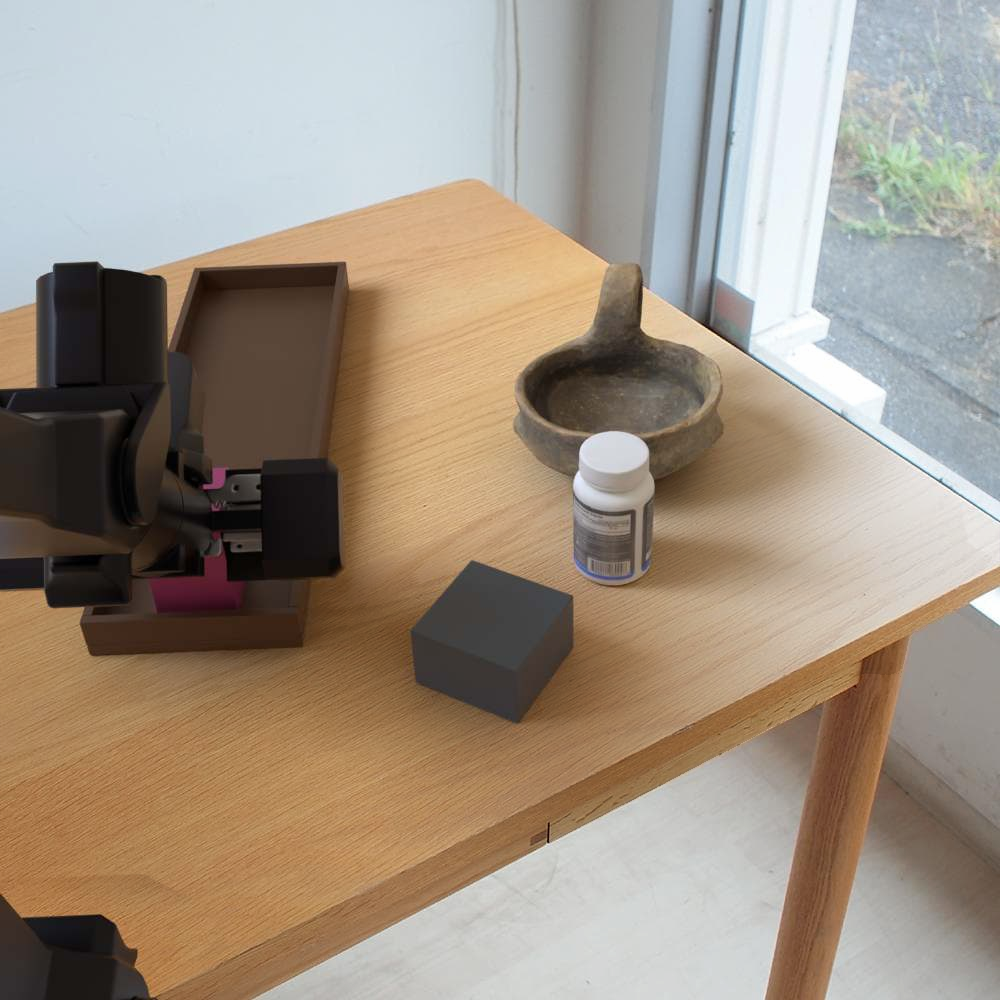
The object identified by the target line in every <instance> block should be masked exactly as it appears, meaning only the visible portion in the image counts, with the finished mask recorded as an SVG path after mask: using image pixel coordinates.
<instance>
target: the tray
mask: <svg viewBox="0 0 1000 1000" xmlns="http://www.w3.org/2000/svg"><path fill="white" fill-rule="evenodd" d="M347 267H348V266H347V262H346V261H327V262H326V261H325V262H324V261H323V262H303V263H302V262H301V263H280V264H279V263H278V264H277V263H276V264H256V265H255V264H254V265H252V264H251V265H231V266H229V265H228V266H208V267H207V266H206V267H194V268H193V271H192V275H191V277H190V281H189V284H188V286H187V290H186V293H185V295H184V298H183V299H184V300H183V301H182V305H181V308H180V311H179V314H178V317H177V321H176V324H175V327H174V330H173V333H172V335H171V339H170V343H169V344H168V352H180V353H183V354H185V355H187V356H188V357H189V358H190V359H191V361H192V364H193V366H194V368H195V371H196V373H197V375H198V378H199V380H200V383H201V385H202V387H203V390H204V392H205V395H206V402H205V406H204V416H203V429H202V435H203V436H204V455H205V456H207V457H208V458H210V459H211V460H212V464H213V468H229V470H232V469H257V468H262V464H263V460H283V459H308V458H328V454H329V447H330V440H331V433H332V425H333V416H334V409H335V402H336V401H335V400H336V393H337V386H338V379H339V378H338V377H339V371H340V362H341V354H342V347H343V339H344V332H345V326H346V325H345V324H346V318H347V317H346V316H347V309H348V303H349V293H350V286H349V277H348V268H347ZM311 585H312V579H310V580H260V581H246V583H245V588H244V593H243V599H242V604H241V609H238V610H214V611H190V612H165V613H157V610H156V606H155V602H154V599H153V595H152V591H151V587H150V584H149V580H148V579H134V580H132V601H131V603H130V604H129V605H124V606H100V607H83V610H82V613H81V617H80V620H79V626H80V629H81V633H82V635H83V639H84V642H85V645H86V648H87V651H88V654H89V655H90V656H101V655H102V656H105V655H124V654H125V655H128V654H129V655H130V654H131V655H132V654H153V653H174V652H175V653H177V652H198V651H199V652H202V651H224V650H225V651H226V650H249V649H250V650H251V649H273V648H274V649H275V648H297V647H298V648H301V647H303V645H304V640H305V639H304V638H305V632H306V631H305V630H306V625H307V624H306V623H307V617H308V616H307V615H308V609H309V608H308V607H309V602H310V601H309V600H310V595H311V594H310V593H311Z"/></svg>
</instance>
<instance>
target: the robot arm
mask: <svg viewBox="0 0 1000 1000" xmlns="http://www.w3.org/2000/svg"><path fill="white" fill-rule="evenodd" d="M35 287H36V288H35V312H36V313H35V328H36V329H35V387H15V388H13V387H12V388H0V593H7V592H10V593H11V592H30V591H32V592H33V591H35V592H36V591H43V592H44V596H45V600H46V604H47V606H48V607H49V608H50V609H73V608H75V609H76V608H84V607H100V606H124V605H129V604H130V603H131V601H132V580H134V579H159V578H184V577H205V569H204V557H211V556H220V555H221V554H222V552H223V541H224V542H226V567H227V582H235V581H260V580H310V579H311V580H331V579H336V578H337V577H338V576H339V575H340V574H341V573H342V572H343V570H345V569H346V548H345V547H346V544H345V543H346V542H345V506H344V473H343V471H342V470H341V469H340V468H339V467H338V466H337V465H336V464H335V463H334V462H333V461H331V459H329V458H328V457H327V458H308V459H283V460H263V464H262V468H257V469H232V470H225V482H224V484H223V486H222V487H221V488H218V489H203V485H209V484H212V483H213V464H212V460H211V459H210V458H208V457H207V456H205V455H204V436H203V435H202V429H203V416H204V406H205V402H206V395H205V392H204V390H203V387H202V385H201V383H200V380H199V378H198V375H197V373H196V371H195V368H194V366H193V364H192V361H191V359H190V358H189V357H188V356H187V355H185V354H183V353H180V352H168V348H169V343H168V342H169V341H168V340H169V339H168V337H169V335H168V329H169V328H168V327H169V325H168V283H167V280H166V279H165V277H163V276H162V275H159V274H146V273H143V272H140V271H134V270H128V269H121V268H111V267H104V266H103V265H102V264H101V263H100V262H99V261H74V262H73V261H72V262H71V261H69V262H55V263H53V265H52V271H50V272H47V273H45V274H43V275H40V276H39V277H38V278H37V279H36V280H35ZM212 503H213V505H214V507H215V508H218V507H219V504H220V503H221V506H222V511H213V510H212V506H211V505H212ZM220 532H223V541H222V539H221V537H220V536H217V539H216V542H215V541H214V538H213V537H212V534H213V533H220ZM123 939H124V938H122V935H121V933H120V930H119V928H118V926H117V924H116V923H115V922H113V921H112V920H110V919H109V918H107V917H106V916H104V915H103V914H99V913H97V914H94V913H93V914H73V915H72V914H71V915H70V914H69V915H50V916H49V915H46V916H23V917H21V915H20V914H19V912H18V911H16V909H15V908H14V907H13V906H12V905H11V904H10V902H9V901H8V900H7V899H6V897H4V896H3V895H2V893H1V892H0V1000H159V998H158V997H156V996H152V997H151V995H150V992H149V987H148V984H147V982H146V980H145V978H144V975H143V974H142V973H141V972H140V970H138V969H137V967H135V965H136V962H137V959H138V955H139V954H138V953H139V952H138V948H136V947H135V948H130V947H129V946H127V945H126V943H125V941H124V940H123Z"/></svg>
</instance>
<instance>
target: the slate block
mask: <svg viewBox="0 0 1000 1000" xmlns="http://www.w3.org/2000/svg"><path fill="white" fill-rule="evenodd" d="M409 633H410V643H411V644H410V645H411V653H412V663H413V672H414V681H415V683H416V684H419V685H421V686H423V687H426V688H428V689H431V690H433V691H435V692H438V693H441V694H442V695H443V694H444V695H446V696H448V697H451V698H453V699H456V700H458V701H461V702H463V703H466V704H467V705H471V706H473V707H475V708H478V709H480V710H482V711H485V712H488V713H489V714H493V715H495V716H498V717H500V718H503V719H505V720H508V721H509V722H510V721H511V722H512V723H515V724H519V723H520V722H521V720H522V719H523V718H524V716H525V715H526V713H527V712H528V711H529V710H530V708H531V706H532V705H533V704H534V702H536V699H537V698H538V697H539V696H540V694H541V693H542V691H543V690H544V689H545V687H546V686H547V684H548V683H549V682H550V681H551V679H552V678H553V677H554V675H555V674H556V672H557V671H558V670H559V668H560V667H561V665H562V664H563V662H565V660H566V658H567V657H568V656H569V654H570V653H571V652H572V650H573V649H574V594H573V595H572V594H570V593H567V592H564V591H561V590H558V589H556V588H553V587H550V586H547V585H544V584H541V583H539V582H537V581H536V582H535V581H532V580H530V579H527V578H524V577H521V576H519V575H515V574H513V573H509V572H507V571H504V570H501V569H499V568H496V567H493V566H491V565H487V564H485V563H482V562H480V561H479V562H478V561H476V560H474V559H471V560H470V561H469V562H468V563H467V565H466V566H465V567H464V568H463V569H462V570H461V571H460V572H459V574H458V575H457V576H456V577H455V578H454V579H453V581H452V582H451V583H449V585H448V586H447V587H446V588H445V590H444V591H443V592H442V593H441V594H440V595H439V596H438V598H437V599H436V600H435V601H434V602H433V603H432V605H431V606H430V607H429V608H428V609H427V610H426V611H425V613H424V614H423V615H422V616H421V617H420V619H419V620H418V621H417V622H416V623H415V624H414V625H413V626H412V628H411V629H410V630H409Z"/></svg>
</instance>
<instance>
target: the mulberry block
mask: <svg viewBox="0 0 1000 1000" xmlns="http://www.w3.org/2000/svg"><path fill="white" fill-rule="evenodd" d="M225 470H229V468H213V483H212V484H209V485H203V489H218V488H221V487H222V486H223V484H224V482H225ZM211 506H212V510H213V511H222V506H221V503H220V504H219V507H218V508H215V507H214V505H213V503H212V505H211ZM217 536H220V537H221V539H222V541H223V532H220V533H213V534H212V537H213V538H214V541H215V542H216V539H217ZM204 569H205V577H184V578H159V579H148V580H149V584H150V587H151V591H152V595H153V599H154V602H155V606H156V610H157V613H165V612H190V611H214V610H238V609H241V604H242V599H243V593H244V588H245V583H246V581H235V582H227V567H226V542H224V541H223V552H222V554H221V555H220V556H211V557H204Z"/></svg>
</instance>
